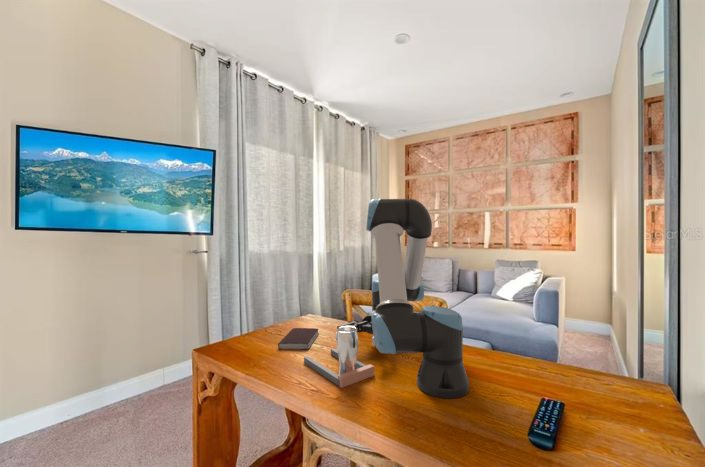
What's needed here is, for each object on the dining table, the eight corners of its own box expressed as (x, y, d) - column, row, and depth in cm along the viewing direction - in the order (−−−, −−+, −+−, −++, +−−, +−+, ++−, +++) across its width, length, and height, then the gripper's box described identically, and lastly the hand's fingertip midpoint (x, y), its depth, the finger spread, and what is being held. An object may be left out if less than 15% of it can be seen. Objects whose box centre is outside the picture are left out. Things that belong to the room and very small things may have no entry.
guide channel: (374, 375, 105) (374, 366, 105) (341, 387, 97) (341, 378, 97) (334, 353, 123) (334, 345, 123) (304, 362, 115) (303, 354, 115)
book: (277, 350, 129) (277, 342, 129) (292, 333, 148) (292, 326, 148) (308, 351, 127) (308, 343, 127) (319, 334, 146) (319, 327, 146)
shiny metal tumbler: (359, 370, 108) (358, 326, 108) (357, 380, 102) (357, 332, 101) (338, 369, 109) (338, 325, 109) (335, 379, 102) (335, 332, 102)
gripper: (404, 334, 127) (389, 355, 107) (345, 328, 136) (322, 345, 116) (404, 315, 126) (389, 332, 107) (345, 310, 136) (322, 324, 116)
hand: (354, 339), depth 112 cm, fingers open, 13 cm apart
